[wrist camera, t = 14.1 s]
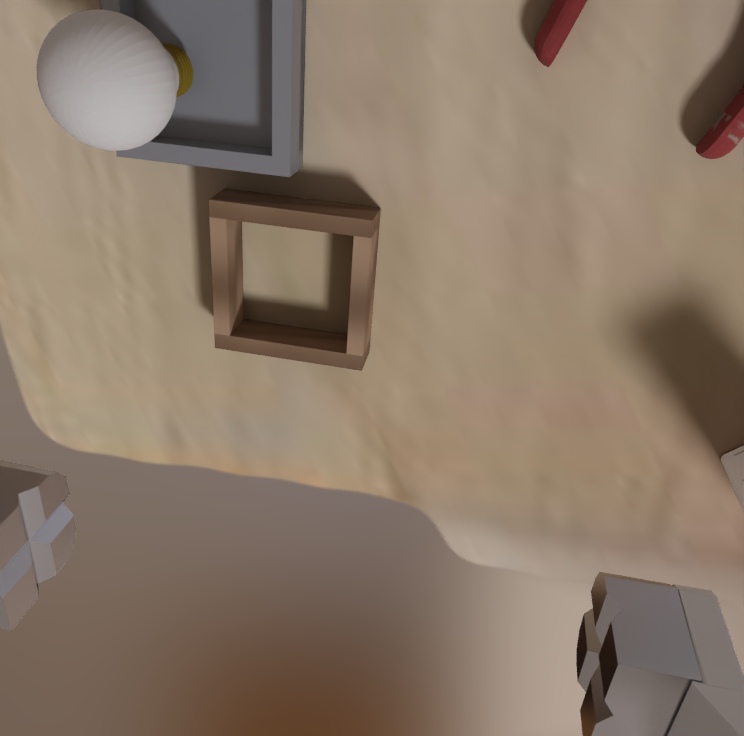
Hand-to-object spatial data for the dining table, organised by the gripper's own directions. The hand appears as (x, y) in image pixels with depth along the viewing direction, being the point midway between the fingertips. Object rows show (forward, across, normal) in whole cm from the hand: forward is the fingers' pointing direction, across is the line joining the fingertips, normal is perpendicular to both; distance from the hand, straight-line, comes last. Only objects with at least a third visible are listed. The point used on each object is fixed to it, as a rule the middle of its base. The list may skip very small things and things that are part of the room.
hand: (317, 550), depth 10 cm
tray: (+31, +14, -3) cm, 34 cm away
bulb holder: (+31, +9, +8) cm, 34 cm away
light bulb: (+30, +16, -3) cm, 34 cm away
